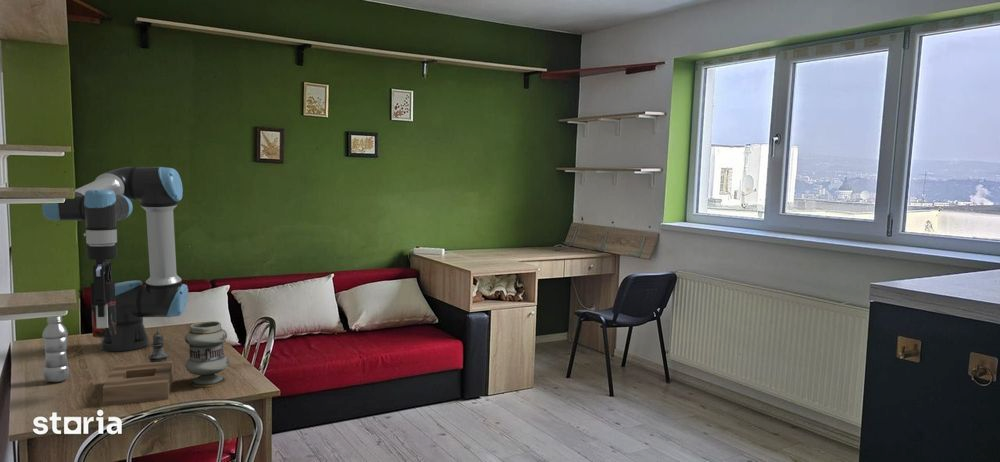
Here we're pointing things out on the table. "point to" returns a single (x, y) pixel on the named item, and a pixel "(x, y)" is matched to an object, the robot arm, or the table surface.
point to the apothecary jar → (206, 353)
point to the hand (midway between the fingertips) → (104, 325)
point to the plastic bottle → (55, 350)
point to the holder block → (138, 383)
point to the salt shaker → (158, 349)
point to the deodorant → (111, 312)
